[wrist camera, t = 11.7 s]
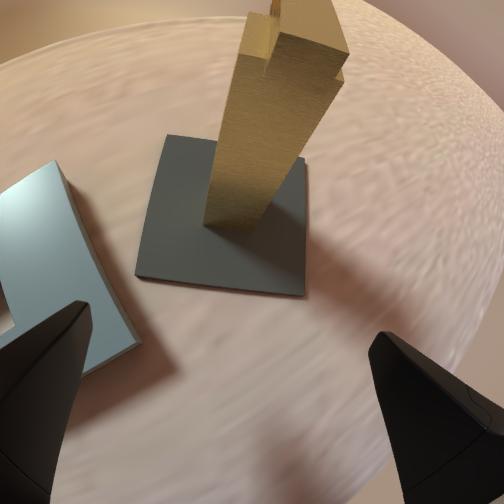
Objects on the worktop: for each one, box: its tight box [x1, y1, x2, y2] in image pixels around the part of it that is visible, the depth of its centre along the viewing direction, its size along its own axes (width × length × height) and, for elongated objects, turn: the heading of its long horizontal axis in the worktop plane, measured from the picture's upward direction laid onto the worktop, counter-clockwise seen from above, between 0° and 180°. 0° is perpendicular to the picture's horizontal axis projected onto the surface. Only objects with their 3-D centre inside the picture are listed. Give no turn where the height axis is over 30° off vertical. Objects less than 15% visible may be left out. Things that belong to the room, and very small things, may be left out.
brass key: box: [202, 0, 350, 233], centre depth 12 cm, size 5×3×14 cm, turn 175°
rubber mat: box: [135, 134, 306, 296], centre depth 19 cm, size 10×10×1 cm
